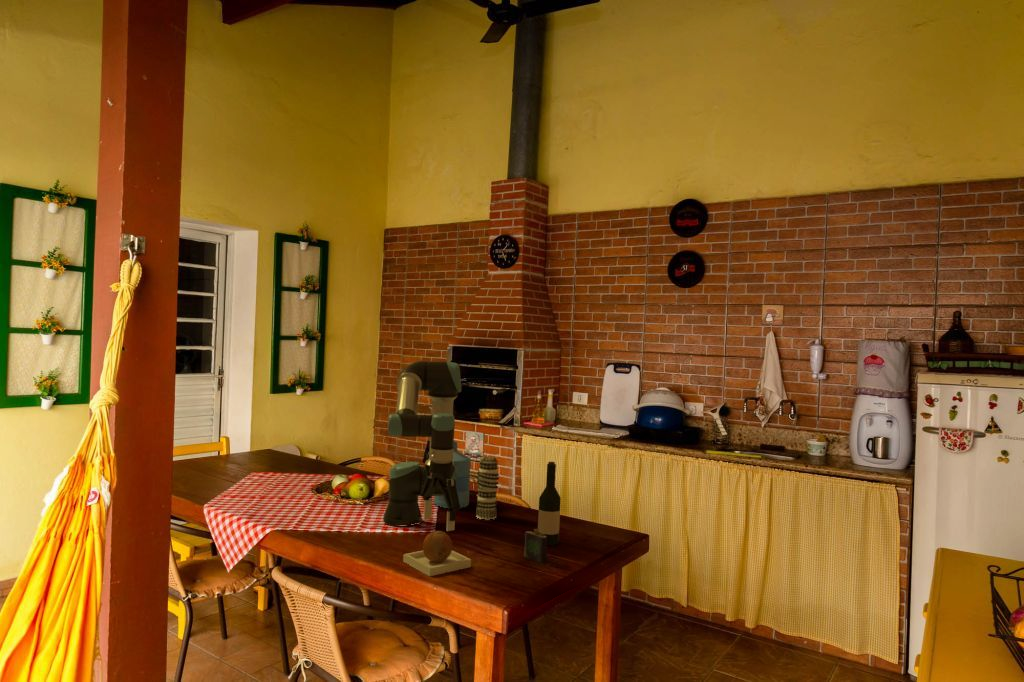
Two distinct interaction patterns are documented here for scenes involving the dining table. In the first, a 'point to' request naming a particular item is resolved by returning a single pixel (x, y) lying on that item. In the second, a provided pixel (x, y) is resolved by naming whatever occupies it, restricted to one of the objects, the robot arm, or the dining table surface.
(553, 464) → the wine bottle
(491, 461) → the decorative candle
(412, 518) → the robot arm
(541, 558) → the flask
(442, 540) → the onion
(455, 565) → the dish
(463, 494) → the water jug
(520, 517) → the dining table surface
